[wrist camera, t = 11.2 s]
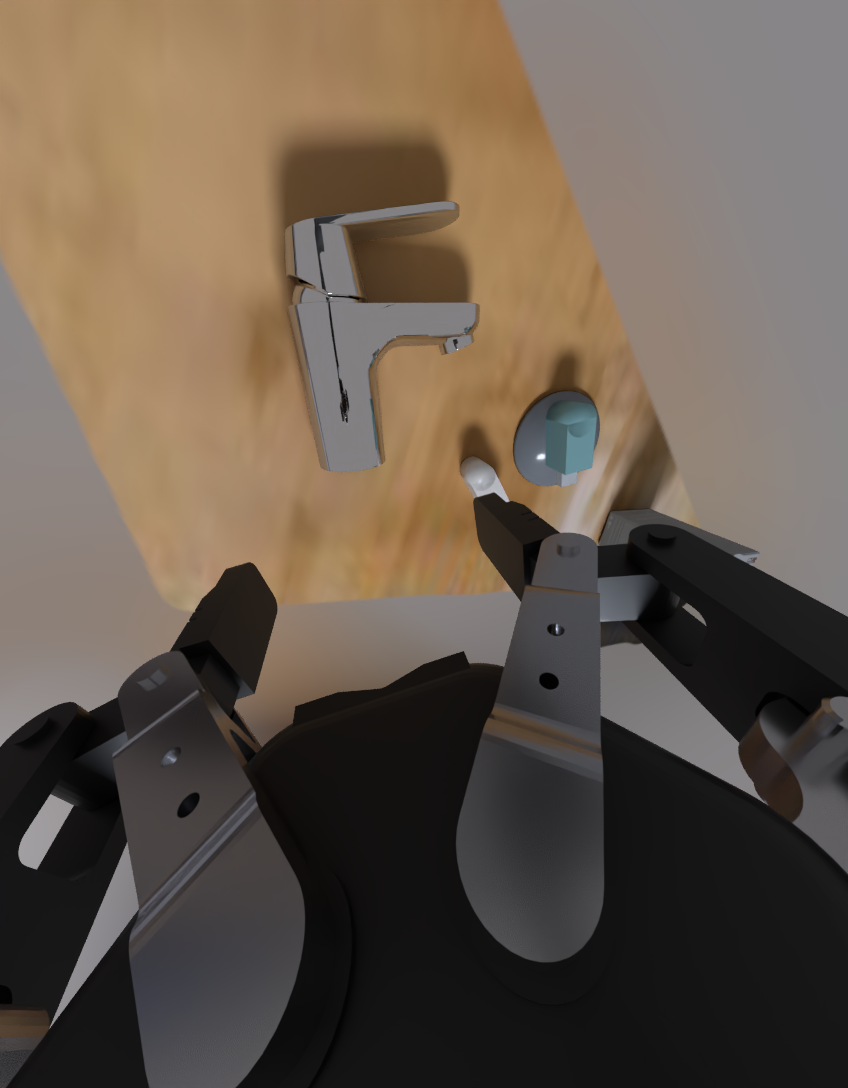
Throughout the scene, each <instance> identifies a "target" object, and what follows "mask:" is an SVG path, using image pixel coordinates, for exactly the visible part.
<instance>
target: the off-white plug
mask: <svg viewBox="0 0 848 1088" xmlns="http://www.w3.org/2000/svg"><path fill="white" fill-rule="evenodd" d="M460 474H461V476H462V478H463V480H464V482H465V483H466V485H467V487H468V489H469V491H470V492H471V494H472V496H473V498H476V497H479V496H483V495H486V494H490V493H493V492H495V493H496V494H497V495H499V496H500V497H501V498H502V499H503V500H504V501H506V502H509V500H508V497H507V495H506V493H505V491H504V489H503V487H502V485H501V483H500V481H499V479H498V477H497V475H496V473H495V471H494V469H493V468H492V467H491V466H489V465H488V464H486V463H485V462H484V461H482V460H481V459H479V458H477V457H469V458H467V459H465V460H464V461H463V462H462V464H461V466H460Z"/></svg>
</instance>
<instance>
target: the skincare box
mask: <svg viewBox="0 0 848 1088" xmlns="http://www.w3.org/2000/svg"><path fill="white" fill-rule="evenodd" d="M647 524H664V525H670V526H675V527H678V528H681V529H684V530H686V531H688V532H690V533H692V534H693V535H695V536H697V537H699V538H701V539H703V540H705V541H707V542H708V543H710V544H712V545H714V546H716V547H718V548H720V549H722V550H723V551H725V552H727V553H729V554H731V555H733V556H735V557H737V558H738V559H740V560H742V561H744V562H746V563H748V564H750V565H753V564H754V562H755V560H756V559H757V557H758V556H759V554H760V553H759V552H758V551H755V550H753V549H750V548H748V547H745V546H743V545H740V544H738V543H735V542H733V541H730V540H727V539H725V538H722V537H720V536H717V535H714V534H712V533H709V532H707V531H704V530H702V529H699V528H697V527H694V526H692V525H689V524H687V523H684V522H682V521H679V520H677V519H674V518H671V517H669V516H666V515H664V514H661V513H659V512H656V511H654V510H652V509H640V510H624V511H611V512H610V515H609V517H608V520H607V523H606V526H605V529H604V532H603V534H602V537H601V539H600V542H599V546H605V545H616V544H627V543H628V537H629V533H630V531H631V530H632V529H634V528H636V527H638V526H641V525H647Z"/></svg>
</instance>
